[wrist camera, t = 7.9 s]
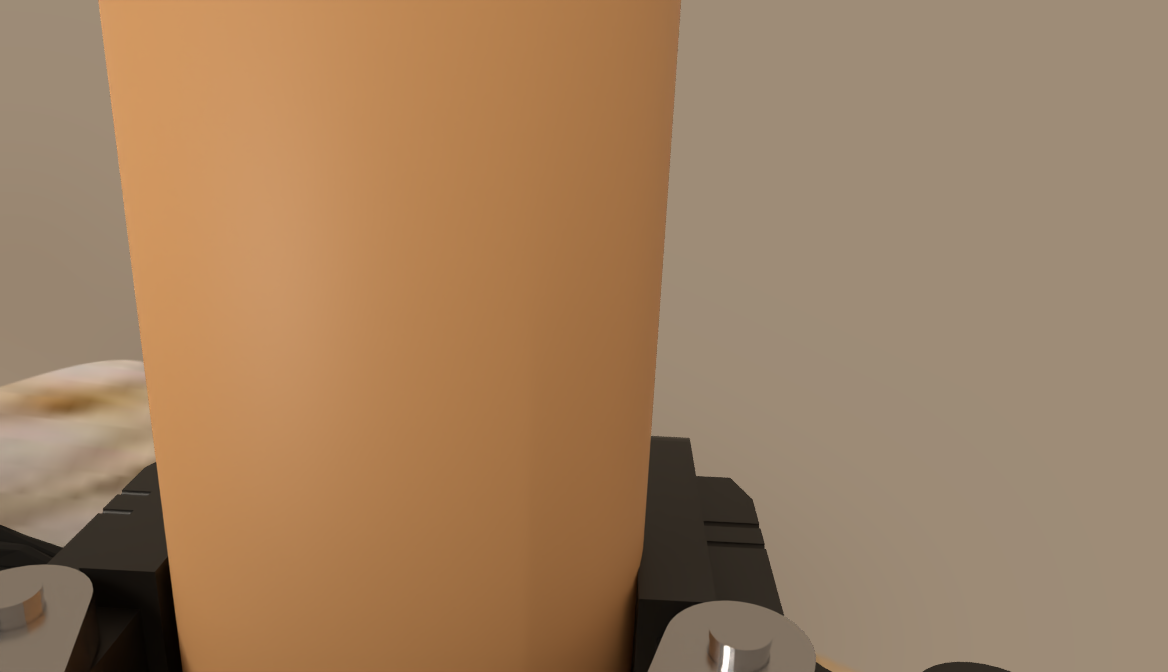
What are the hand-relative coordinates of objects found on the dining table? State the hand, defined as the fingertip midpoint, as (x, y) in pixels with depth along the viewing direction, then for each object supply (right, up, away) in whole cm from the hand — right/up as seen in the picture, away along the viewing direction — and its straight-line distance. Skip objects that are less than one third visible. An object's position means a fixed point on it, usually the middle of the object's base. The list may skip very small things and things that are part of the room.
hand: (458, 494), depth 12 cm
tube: (0, -10, +1) cm, 10 cm away
